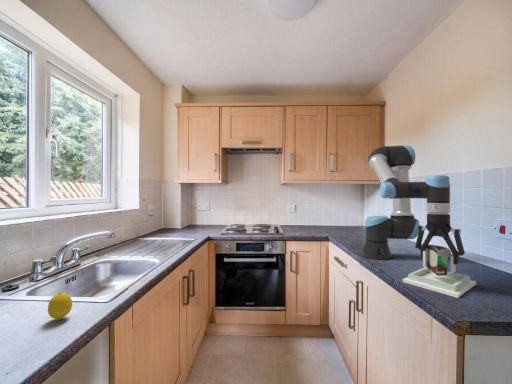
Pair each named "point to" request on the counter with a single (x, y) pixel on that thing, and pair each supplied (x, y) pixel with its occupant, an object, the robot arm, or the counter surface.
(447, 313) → the counter surface
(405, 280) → the pocket plate
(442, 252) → the food container
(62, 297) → the lemon
